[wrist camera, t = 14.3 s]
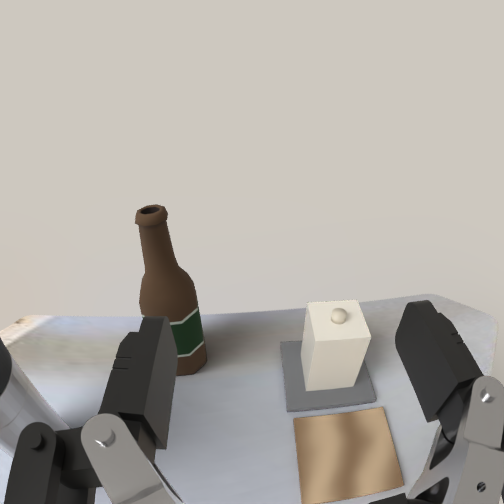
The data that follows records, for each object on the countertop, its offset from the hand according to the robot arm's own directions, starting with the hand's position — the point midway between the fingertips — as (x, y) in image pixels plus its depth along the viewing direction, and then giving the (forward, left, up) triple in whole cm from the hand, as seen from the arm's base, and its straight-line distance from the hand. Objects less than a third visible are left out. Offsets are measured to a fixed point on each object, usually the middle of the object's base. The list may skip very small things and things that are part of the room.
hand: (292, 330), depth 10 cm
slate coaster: (+5, +20, -29) cm, 36 cm away
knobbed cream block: (+5, +20, -29) cm, 35 cm away
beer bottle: (-16, +20, -30) cm, 39 cm away
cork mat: (+8, +7, -29) cm, 31 cm away
